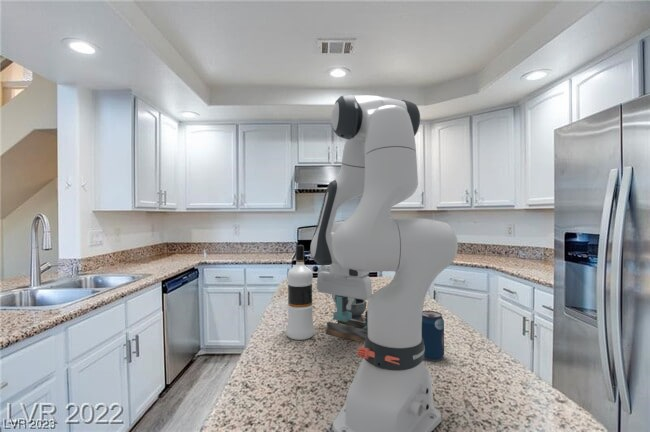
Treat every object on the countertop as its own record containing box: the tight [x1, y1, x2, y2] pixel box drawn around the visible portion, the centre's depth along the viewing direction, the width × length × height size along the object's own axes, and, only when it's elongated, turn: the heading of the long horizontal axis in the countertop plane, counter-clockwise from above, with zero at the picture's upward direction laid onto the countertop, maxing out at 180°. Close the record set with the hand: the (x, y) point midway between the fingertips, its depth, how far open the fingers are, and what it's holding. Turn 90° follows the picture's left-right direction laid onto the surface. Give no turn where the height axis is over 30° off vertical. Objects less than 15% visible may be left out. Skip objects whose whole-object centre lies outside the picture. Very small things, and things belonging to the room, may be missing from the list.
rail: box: [325, 310, 368, 344], centre depth 103 cm, size 18×9×10 cm, turn 56°
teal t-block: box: [332, 296, 352, 322], centre depth 106 cm, size 5×4×8 cm
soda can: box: [422, 310, 445, 362], centre depth 87 cm, size 7×7×12 cm
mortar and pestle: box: [348, 298, 367, 321], centre depth 120 cm, size 11×9×12 cm
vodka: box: [285, 244, 315, 341], centre depth 103 cm, size 9×9×30 cm
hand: (343, 308), depth 106 cm, fingers closed on teal t-block, 3 cm apart
